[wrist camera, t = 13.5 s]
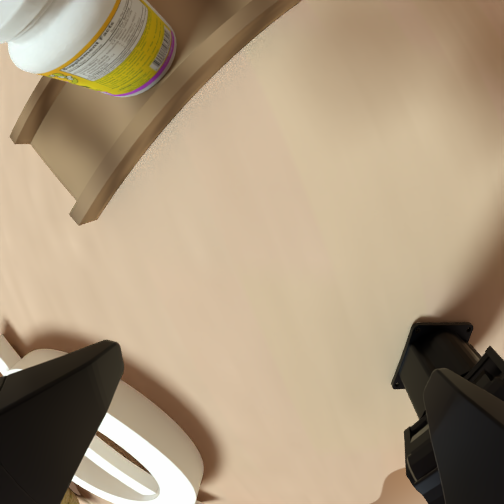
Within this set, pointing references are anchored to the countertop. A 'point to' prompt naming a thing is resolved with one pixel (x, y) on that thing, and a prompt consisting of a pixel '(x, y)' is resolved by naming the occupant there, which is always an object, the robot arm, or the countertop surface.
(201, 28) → the oak track
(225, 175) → the countertop surface
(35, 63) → the supplement bottle
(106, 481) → the ring with crossbar
